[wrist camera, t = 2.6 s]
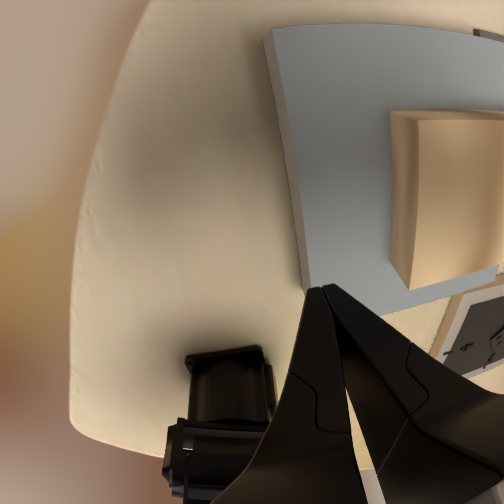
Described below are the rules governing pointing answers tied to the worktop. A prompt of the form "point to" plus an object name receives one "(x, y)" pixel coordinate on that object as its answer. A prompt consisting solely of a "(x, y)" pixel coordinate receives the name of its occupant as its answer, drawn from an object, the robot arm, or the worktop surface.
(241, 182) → the worktop surface
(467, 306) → the picture frame
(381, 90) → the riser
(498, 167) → the coaster
